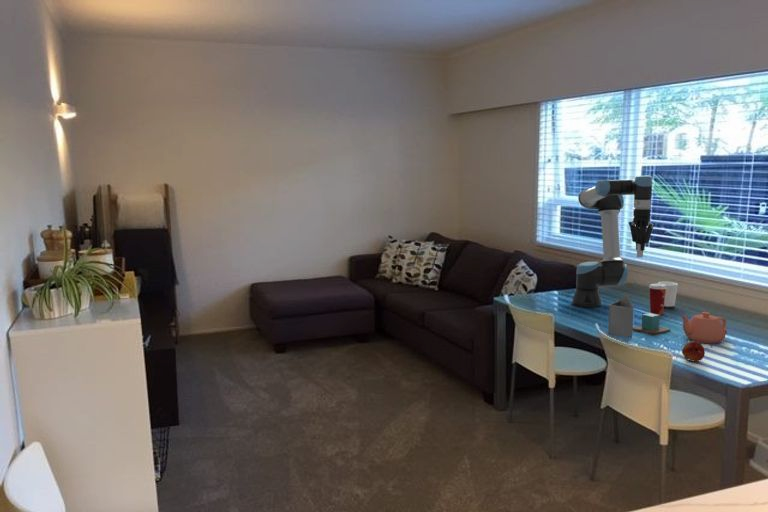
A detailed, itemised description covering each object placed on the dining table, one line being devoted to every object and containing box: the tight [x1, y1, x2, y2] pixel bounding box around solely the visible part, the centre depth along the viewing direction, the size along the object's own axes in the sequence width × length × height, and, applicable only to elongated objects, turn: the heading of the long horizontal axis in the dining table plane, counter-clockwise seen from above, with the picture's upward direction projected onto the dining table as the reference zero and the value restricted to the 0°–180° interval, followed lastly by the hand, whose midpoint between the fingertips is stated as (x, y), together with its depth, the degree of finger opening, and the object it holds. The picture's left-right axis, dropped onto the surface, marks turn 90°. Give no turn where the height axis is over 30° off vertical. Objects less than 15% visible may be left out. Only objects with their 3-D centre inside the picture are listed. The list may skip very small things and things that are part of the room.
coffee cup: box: [649, 283, 667, 316], centre depth 306 cm, size 8×8×15 cm
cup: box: [657, 281, 679, 309], centre depth 320 cm, size 10×10×13 cm
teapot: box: [680, 311, 728, 344], centre depth 260 cm, size 22×16×12 cm
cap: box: [641, 312, 660, 331], centre depth 276 cm, size 5×5×7 cm
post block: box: [633, 324, 671, 336], centre depth 276 cm, size 12×12×6 cm
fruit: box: [681, 341, 706, 362], centre depth 234 cm, size 8×8×8 cm
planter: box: [608, 291, 634, 339], centre depth 273 cm, size 16×8×19 cm, turn 178°
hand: (639, 257), depth 288 cm, fingers closed
